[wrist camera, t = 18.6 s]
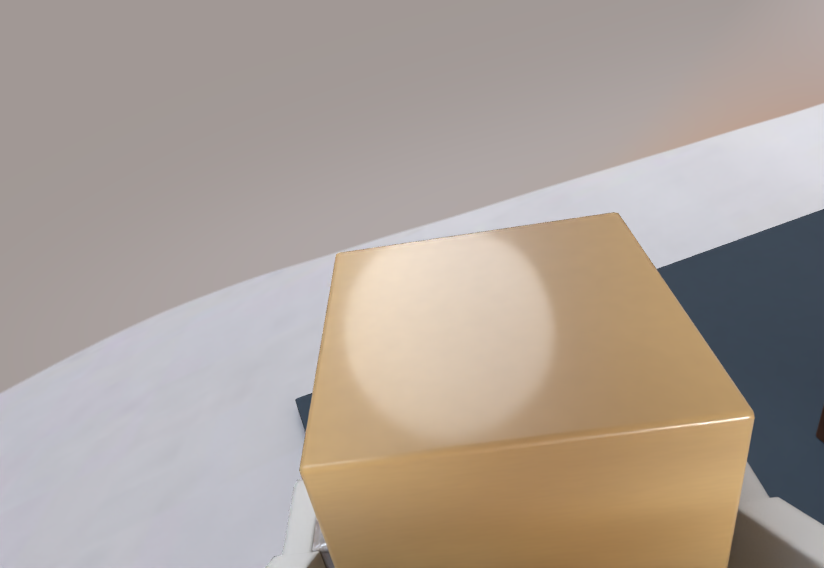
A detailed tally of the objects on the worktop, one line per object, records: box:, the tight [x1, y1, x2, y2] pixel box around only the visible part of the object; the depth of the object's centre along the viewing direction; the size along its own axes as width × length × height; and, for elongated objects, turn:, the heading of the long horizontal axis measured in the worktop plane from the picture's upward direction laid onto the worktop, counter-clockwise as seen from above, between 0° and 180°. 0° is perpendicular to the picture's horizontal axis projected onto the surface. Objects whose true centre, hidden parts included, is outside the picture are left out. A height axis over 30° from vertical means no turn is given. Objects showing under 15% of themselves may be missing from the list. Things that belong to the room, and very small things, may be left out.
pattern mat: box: [295, 209, 824, 525], centre depth 20 cm, size 27×16×1 cm, turn 111°
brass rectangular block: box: [299, 212, 755, 568], centre depth 12 cm, size 5×5×10 cm
